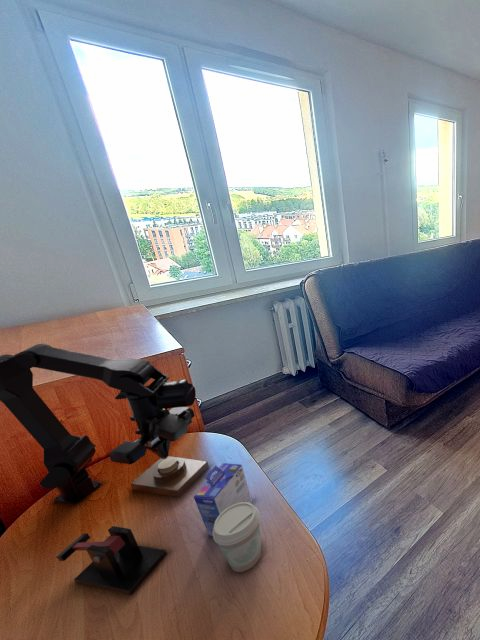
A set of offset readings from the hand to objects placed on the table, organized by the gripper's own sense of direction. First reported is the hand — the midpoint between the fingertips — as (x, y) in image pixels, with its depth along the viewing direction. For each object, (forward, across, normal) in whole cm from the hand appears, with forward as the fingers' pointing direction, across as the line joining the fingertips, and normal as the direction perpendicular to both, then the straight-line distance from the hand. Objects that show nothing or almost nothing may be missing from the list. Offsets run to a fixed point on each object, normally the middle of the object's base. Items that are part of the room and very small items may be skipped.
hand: (164, 457), depth 88 cm
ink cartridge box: (+7, -8, -24) cm, 26 cm away
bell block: (+7, 0, 0) cm, 7 cm away
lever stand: (+7, -22, -10) cm, 25 cm away
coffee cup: (+7, -16, -34) cm, 38 cm away
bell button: (+3, 0, 0) cm, 3 cm away
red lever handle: (+3, -22, -5) cm, 23 cm away
